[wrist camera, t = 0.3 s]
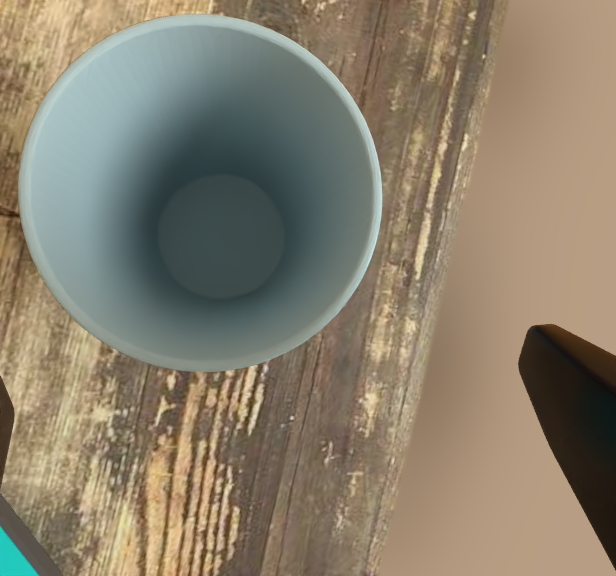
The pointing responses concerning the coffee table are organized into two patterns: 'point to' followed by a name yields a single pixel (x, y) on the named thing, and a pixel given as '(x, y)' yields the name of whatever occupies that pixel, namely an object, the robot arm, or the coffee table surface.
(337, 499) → the coffee table surface
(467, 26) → the coffee table surface
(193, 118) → the cup
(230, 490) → the coffee table surface
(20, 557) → the smartphone
